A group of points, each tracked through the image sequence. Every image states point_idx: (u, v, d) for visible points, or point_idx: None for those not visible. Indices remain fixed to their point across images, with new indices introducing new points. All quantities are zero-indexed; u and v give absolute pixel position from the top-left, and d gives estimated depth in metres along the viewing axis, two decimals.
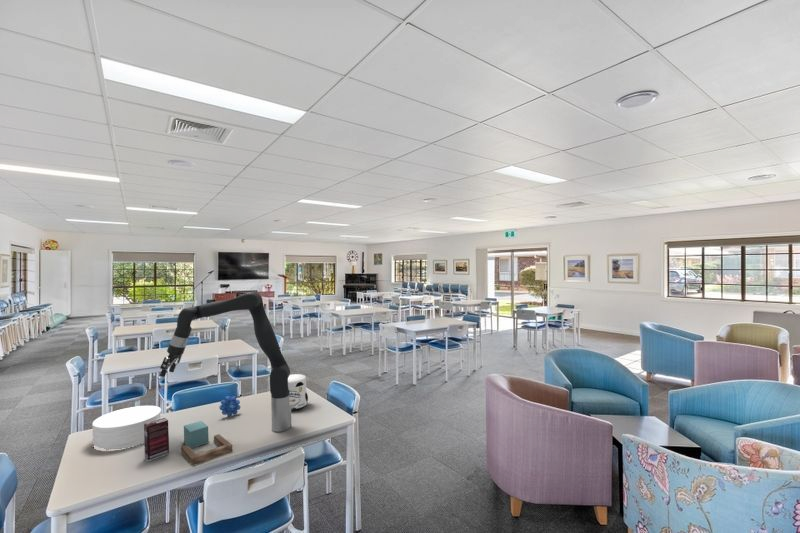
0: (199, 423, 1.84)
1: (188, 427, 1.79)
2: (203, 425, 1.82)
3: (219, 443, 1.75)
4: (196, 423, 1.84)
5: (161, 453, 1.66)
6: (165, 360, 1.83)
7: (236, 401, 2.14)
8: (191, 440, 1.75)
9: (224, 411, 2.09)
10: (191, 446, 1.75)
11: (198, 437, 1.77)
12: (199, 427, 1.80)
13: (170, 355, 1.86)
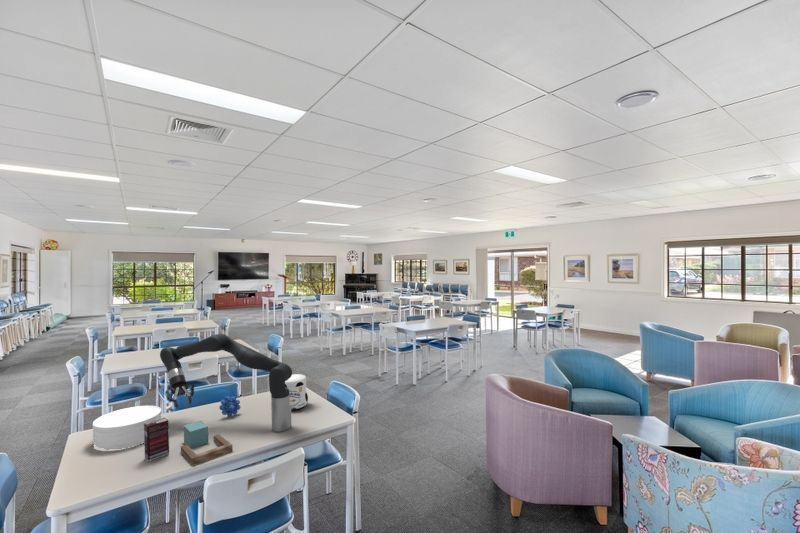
0: (199, 423, 1.84)
1: (188, 427, 1.79)
2: (203, 425, 1.82)
3: (219, 443, 1.75)
4: (196, 423, 1.84)
5: (161, 453, 1.66)
6: (165, 394, 1.94)
7: (236, 401, 2.14)
8: (191, 440, 1.75)
9: (224, 411, 2.09)
10: (191, 446, 1.75)
11: (198, 437, 1.77)
12: (199, 427, 1.80)
13: (171, 388, 1.97)
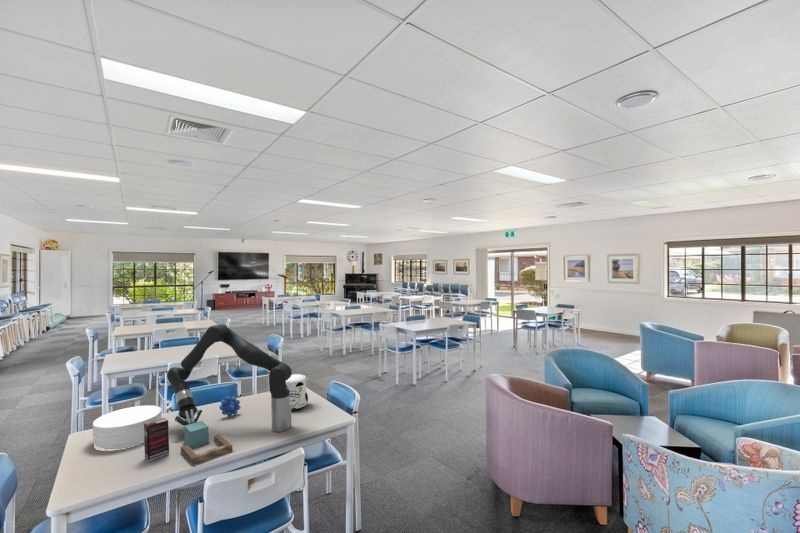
0: (199, 423, 1.84)
1: (188, 427, 1.79)
2: (203, 425, 1.82)
3: (219, 443, 1.75)
4: (196, 423, 1.84)
5: (161, 453, 1.66)
6: (176, 420, 1.84)
7: (236, 401, 2.14)
8: (191, 440, 1.74)
9: (224, 411, 2.09)
10: (191, 446, 1.75)
11: (198, 437, 1.77)
12: (199, 427, 1.79)
13: (179, 411, 1.88)
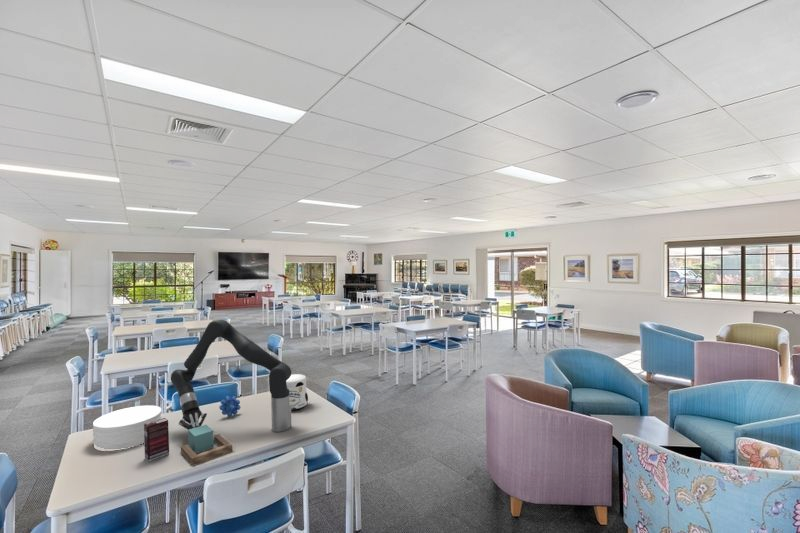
0: (204, 427, 1.79)
1: (193, 431, 1.74)
2: (208, 429, 1.77)
3: (219, 443, 1.75)
4: (201, 427, 1.79)
5: (161, 453, 1.66)
6: (181, 424, 1.80)
7: (236, 401, 2.14)
8: (195, 445, 1.70)
9: (224, 411, 2.09)
10: (196, 451, 1.70)
11: (202, 441, 1.72)
12: (203, 431, 1.75)
13: (183, 415, 1.83)
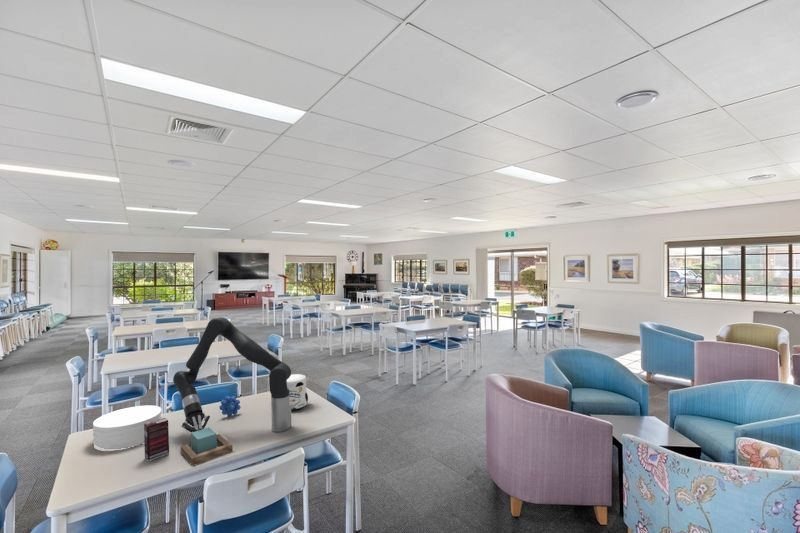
0: (207, 430, 1.75)
1: (195, 434, 1.71)
2: (211, 432, 1.73)
3: (219, 443, 1.75)
4: (204, 430, 1.75)
5: (161, 453, 1.66)
6: (183, 426, 1.76)
7: (236, 401, 2.14)
8: (198, 449, 1.66)
9: (224, 411, 2.09)
10: None
11: (206, 444, 1.68)
12: (207, 434, 1.71)
13: (186, 417, 1.80)
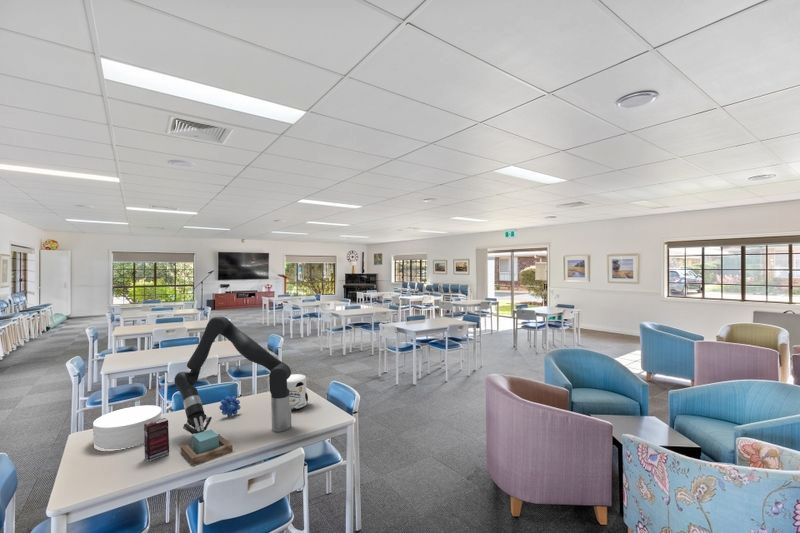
0: (209, 432, 1.73)
1: (197, 436, 1.69)
2: (213, 434, 1.71)
3: (219, 443, 1.75)
4: (206, 432, 1.74)
5: (161, 453, 1.66)
6: (185, 428, 1.75)
7: (236, 401, 2.14)
8: (200, 451, 1.64)
9: (224, 411, 2.09)
10: None
11: (208, 447, 1.67)
12: (209, 436, 1.69)
13: (187, 418, 1.78)
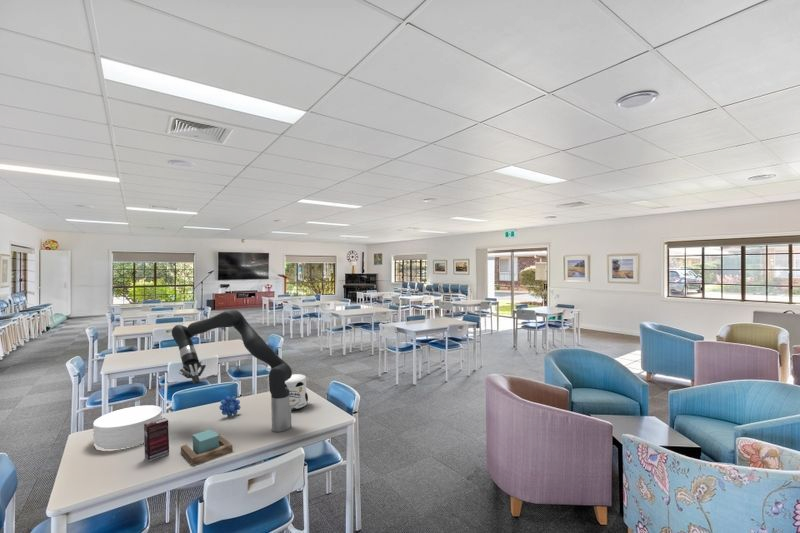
0: (209, 432, 1.73)
1: (197, 436, 1.69)
2: (213, 434, 1.71)
3: (219, 443, 1.75)
4: (206, 432, 1.74)
5: (161, 453, 1.66)
6: (181, 373, 1.91)
7: (236, 401, 2.14)
8: (200, 451, 1.64)
9: (224, 411, 2.09)
10: None
11: (208, 447, 1.67)
12: (209, 436, 1.69)
13: (183, 365, 1.94)
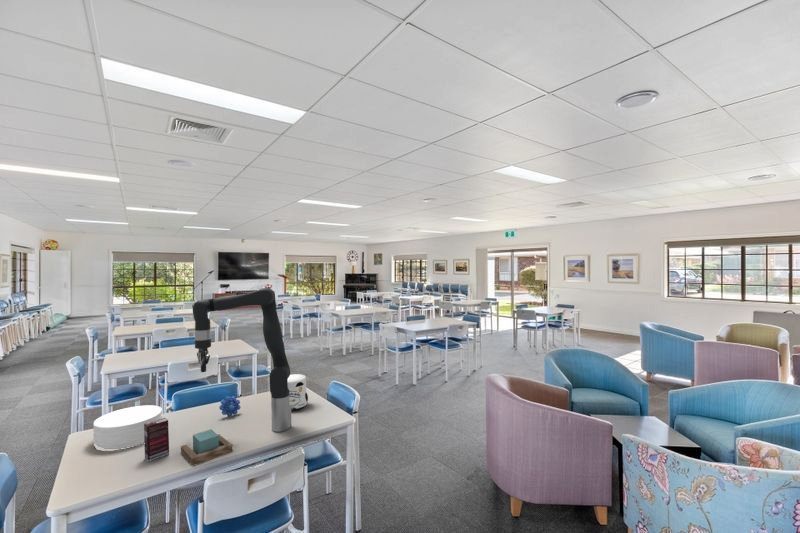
0: (209, 432, 1.73)
1: (197, 436, 1.69)
2: (213, 434, 1.71)
3: (219, 443, 1.75)
4: (206, 432, 1.74)
5: (161, 453, 1.66)
6: (206, 358, 1.86)
7: (236, 401, 2.14)
8: (200, 451, 1.64)
9: (224, 411, 2.09)
10: None
11: (208, 447, 1.67)
12: (209, 436, 1.69)
13: (205, 349, 1.88)
